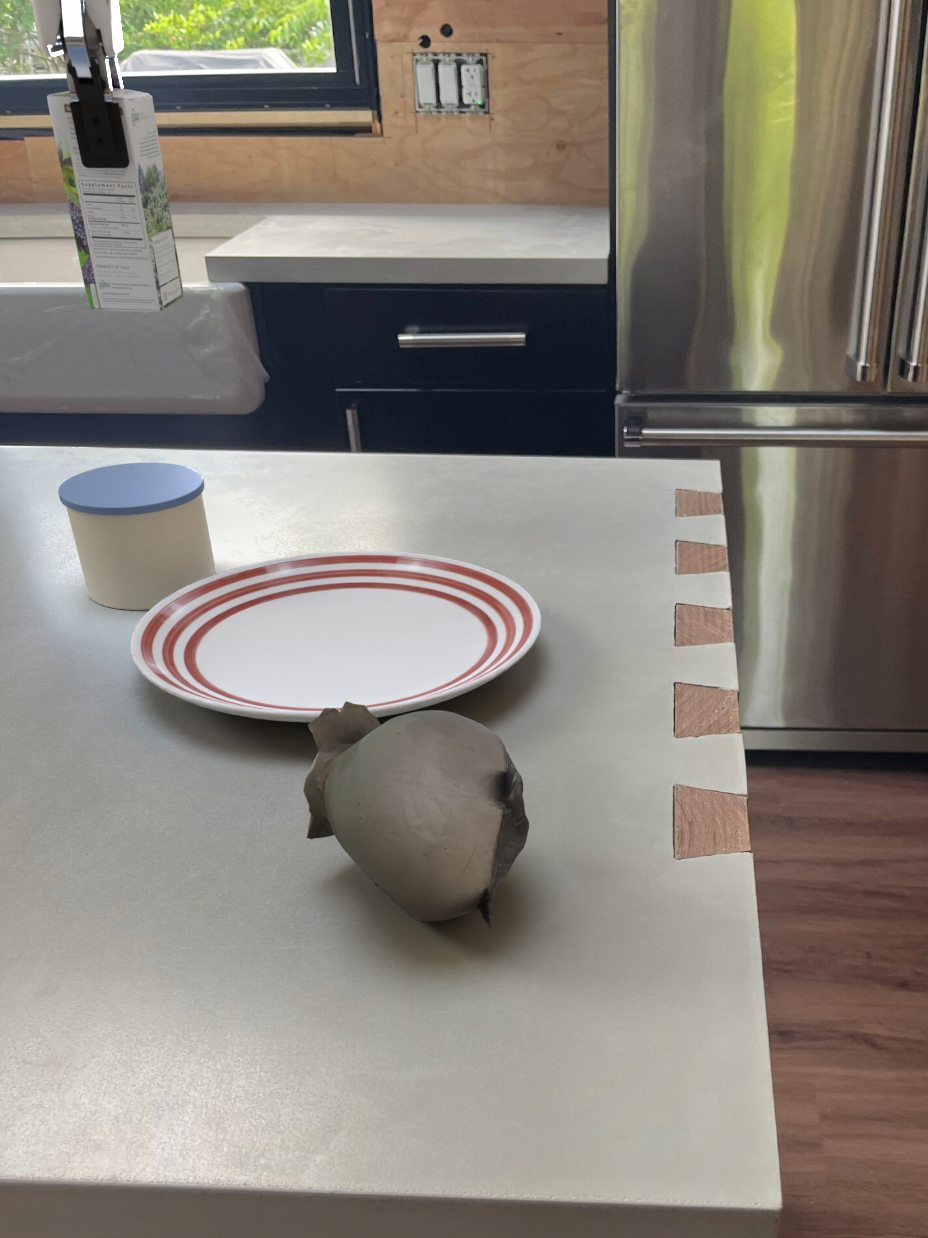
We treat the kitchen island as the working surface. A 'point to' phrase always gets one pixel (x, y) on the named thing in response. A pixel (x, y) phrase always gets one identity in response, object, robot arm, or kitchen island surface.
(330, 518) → the kitchen island surface
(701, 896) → the kitchen island surface
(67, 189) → the syrup box
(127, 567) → the yogurt tub
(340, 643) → the dinner plate
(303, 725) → the kitchen island surface
